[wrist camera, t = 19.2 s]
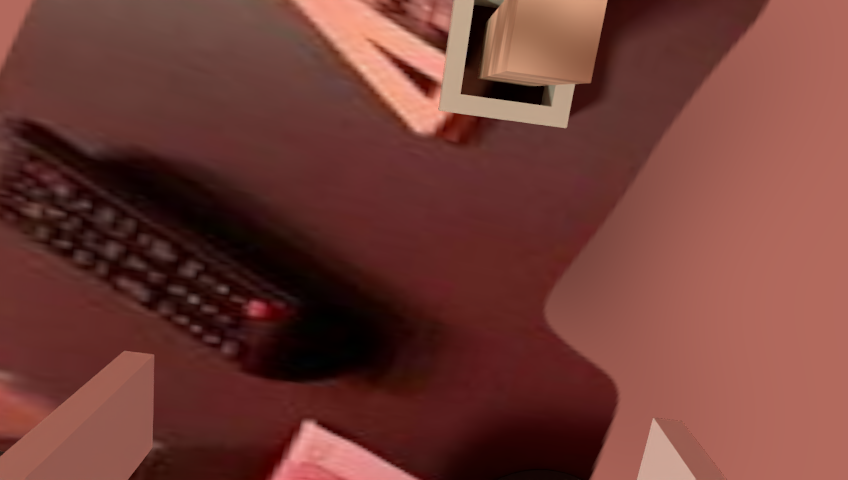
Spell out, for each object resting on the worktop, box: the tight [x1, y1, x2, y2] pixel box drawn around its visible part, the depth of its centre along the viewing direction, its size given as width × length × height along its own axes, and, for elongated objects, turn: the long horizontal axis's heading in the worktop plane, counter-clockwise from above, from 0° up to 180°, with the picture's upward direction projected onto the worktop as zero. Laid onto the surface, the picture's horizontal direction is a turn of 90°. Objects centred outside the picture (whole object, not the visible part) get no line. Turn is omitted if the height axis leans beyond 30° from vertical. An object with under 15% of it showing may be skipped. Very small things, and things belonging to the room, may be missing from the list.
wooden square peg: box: [477, 0, 607, 86], centre depth 35 cm, size 4×4×17 cm
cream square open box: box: [438, 0, 575, 128], centre depth 41 cm, size 9×9×4 cm
